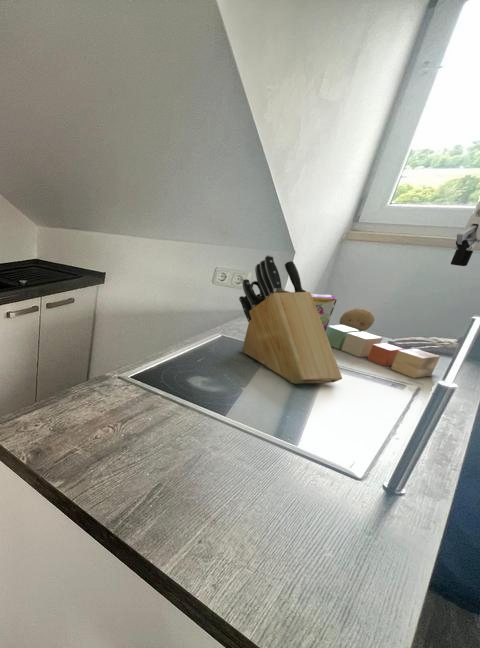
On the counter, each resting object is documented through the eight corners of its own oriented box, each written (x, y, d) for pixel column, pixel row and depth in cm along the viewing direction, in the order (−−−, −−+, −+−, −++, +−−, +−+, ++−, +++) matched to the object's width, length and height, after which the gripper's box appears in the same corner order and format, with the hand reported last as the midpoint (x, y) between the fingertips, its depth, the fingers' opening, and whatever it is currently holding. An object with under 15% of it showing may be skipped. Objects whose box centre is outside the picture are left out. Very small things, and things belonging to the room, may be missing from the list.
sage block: (336, 340, 134) (342, 324, 132) (353, 347, 129) (359, 330, 126) (321, 342, 133) (326, 325, 131) (338, 348, 128) (344, 331, 126)
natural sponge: (360, 341, 133) (371, 313, 129) (330, 334, 140) (339, 307, 136) (372, 336, 137) (382, 309, 133) (341, 329, 145) (350, 303, 140)
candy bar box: (283, 342, 134) (296, 296, 128) (279, 337, 139) (292, 292, 132) (322, 345, 131) (338, 298, 124) (316, 340, 135) (331, 294, 129)
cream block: (356, 348, 128) (362, 331, 126) (375, 355, 123) (382, 337, 120) (341, 350, 127) (347, 332, 125) (359, 357, 122) (366, 339, 119)
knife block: (256, 341, 136) (280, 251, 124) (340, 388, 104) (383, 272, 91) (224, 342, 136) (245, 252, 123) (298, 389, 104) (336, 274, 91)
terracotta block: (380, 357, 121) (386, 343, 119) (398, 364, 116) (404, 349, 114) (366, 359, 120) (372, 344, 118) (384, 365, 116) (390, 350, 114)
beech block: (407, 367, 114) (415, 348, 112) (431, 375, 109) (440, 356, 107) (390, 369, 114) (398, 350, 111) (413, 377, 108) (422, 358, 106)
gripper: (496, 196, 93) (464, 268, 99) (552, 193, 95) (517, 264, 102) (457, 196, 99) (430, 264, 106) (510, 193, 102) (480, 259, 109)
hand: (473, 263), depth 104 cm, fingers open, 9 cm apart
